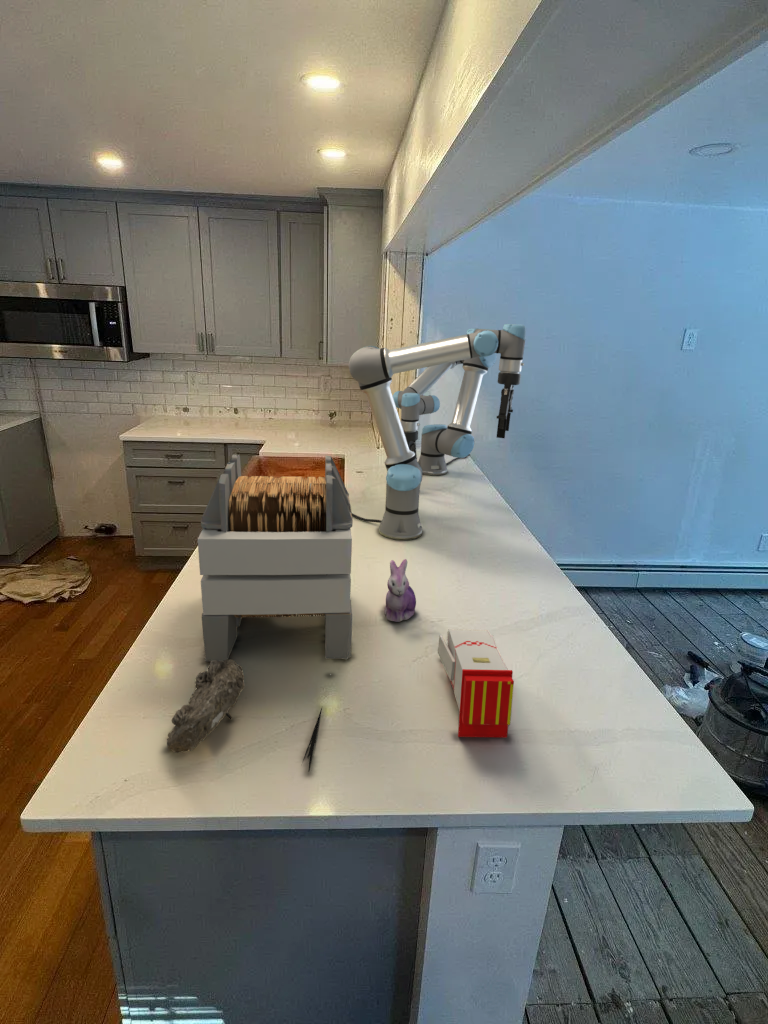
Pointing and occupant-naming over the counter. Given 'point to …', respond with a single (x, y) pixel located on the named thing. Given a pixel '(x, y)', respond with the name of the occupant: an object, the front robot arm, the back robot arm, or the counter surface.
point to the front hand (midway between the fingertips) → (502, 434)
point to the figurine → (399, 594)
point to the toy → (478, 682)
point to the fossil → (206, 705)
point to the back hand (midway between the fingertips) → (407, 478)
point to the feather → (313, 740)
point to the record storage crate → (276, 555)
